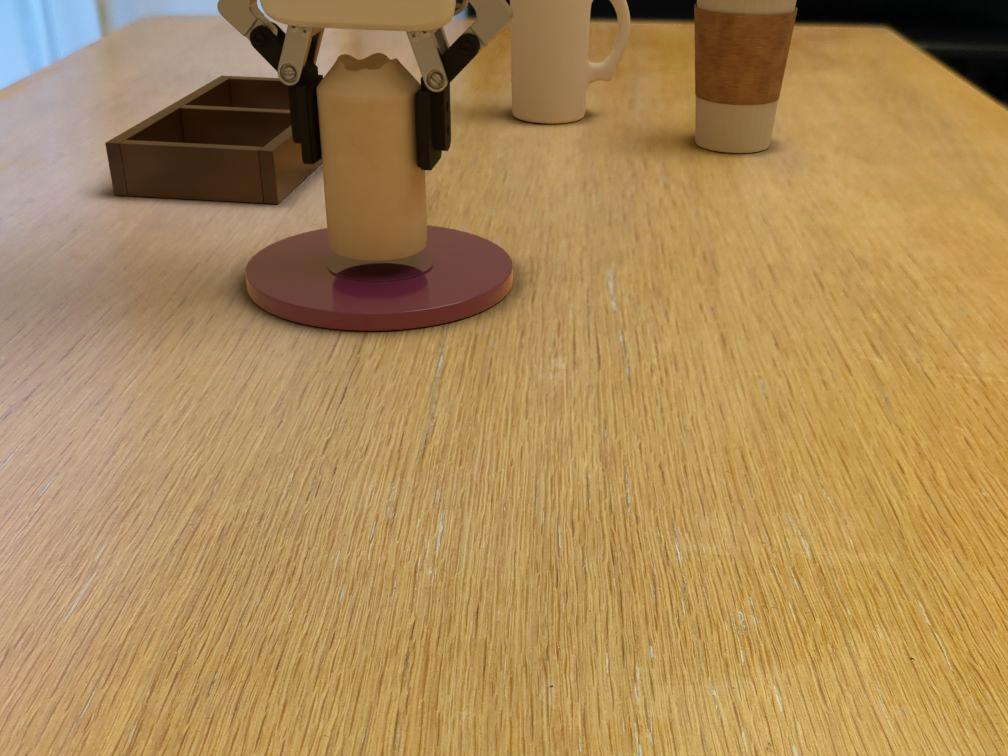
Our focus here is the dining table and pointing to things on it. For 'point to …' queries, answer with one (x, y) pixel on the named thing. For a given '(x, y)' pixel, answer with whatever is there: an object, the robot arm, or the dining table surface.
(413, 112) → the candle
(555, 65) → the mug
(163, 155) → the divided wooden tray
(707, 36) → the coffee cup
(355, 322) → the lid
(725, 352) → the dining table surface
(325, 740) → the dining table surface
